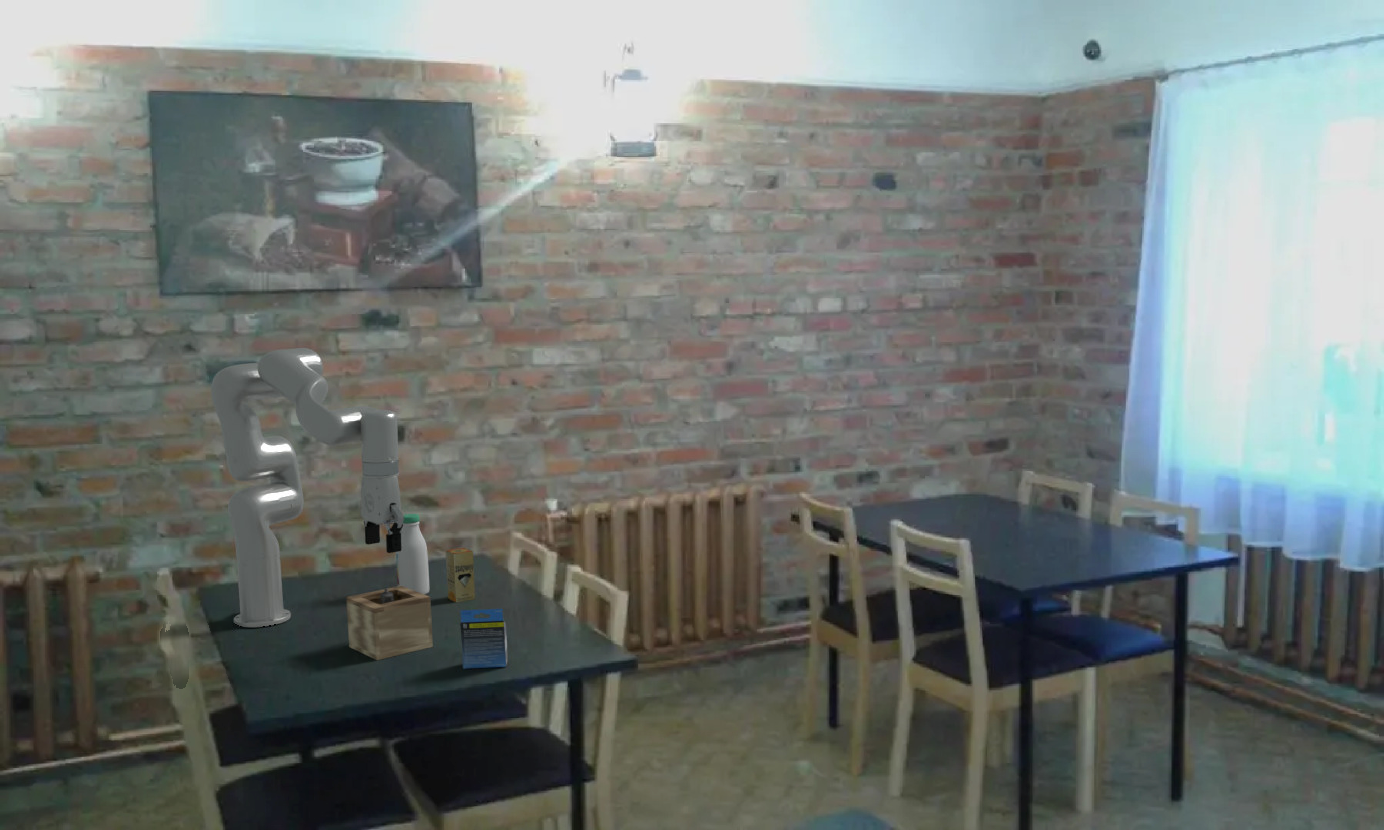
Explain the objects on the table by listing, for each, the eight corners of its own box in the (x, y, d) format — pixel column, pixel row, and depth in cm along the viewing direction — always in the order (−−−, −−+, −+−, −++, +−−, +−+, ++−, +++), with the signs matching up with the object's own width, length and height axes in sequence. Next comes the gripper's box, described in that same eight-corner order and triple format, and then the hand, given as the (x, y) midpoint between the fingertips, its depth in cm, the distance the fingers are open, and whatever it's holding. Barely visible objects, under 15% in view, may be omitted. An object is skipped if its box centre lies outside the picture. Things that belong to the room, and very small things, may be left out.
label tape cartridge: (508, 661, 255) (505, 603, 254) (506, 667, 251) (503, 608, 250) (464, 663, 255) (462, 604, 253) (462, 669, 251) (459, 610, 249)
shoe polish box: (475, 599, 304) (472, 551, 303) (456, 602, 301) (453, 554, 300) (466, 595, 308) (464, 547, 307) (448, 598, 306) (445, 550, 304)
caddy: (349, 646, 268) (346, 597, 266) (403, 634, 276) (401, 585, 275) (376, 660, 258) (374, 608, 257) (432, 646, 266) (430, 596, 265)
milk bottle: (436, 591, 312) (432, 513, 310) (413, 599, 305) (409, 519, 303) (413, 588, 316) (409, 511, 314) (391, 595, 310) (387, 516, 307)
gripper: (345, 465, 267) (348, 543, 269) (383, 476, 254) (386, 558, 256) (378, 461, 271) (380, 537, 274) (416, 472, 258) (418, 552, 261)
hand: (383, 547), depth 265 cm, fingers open, 9 cm apart
